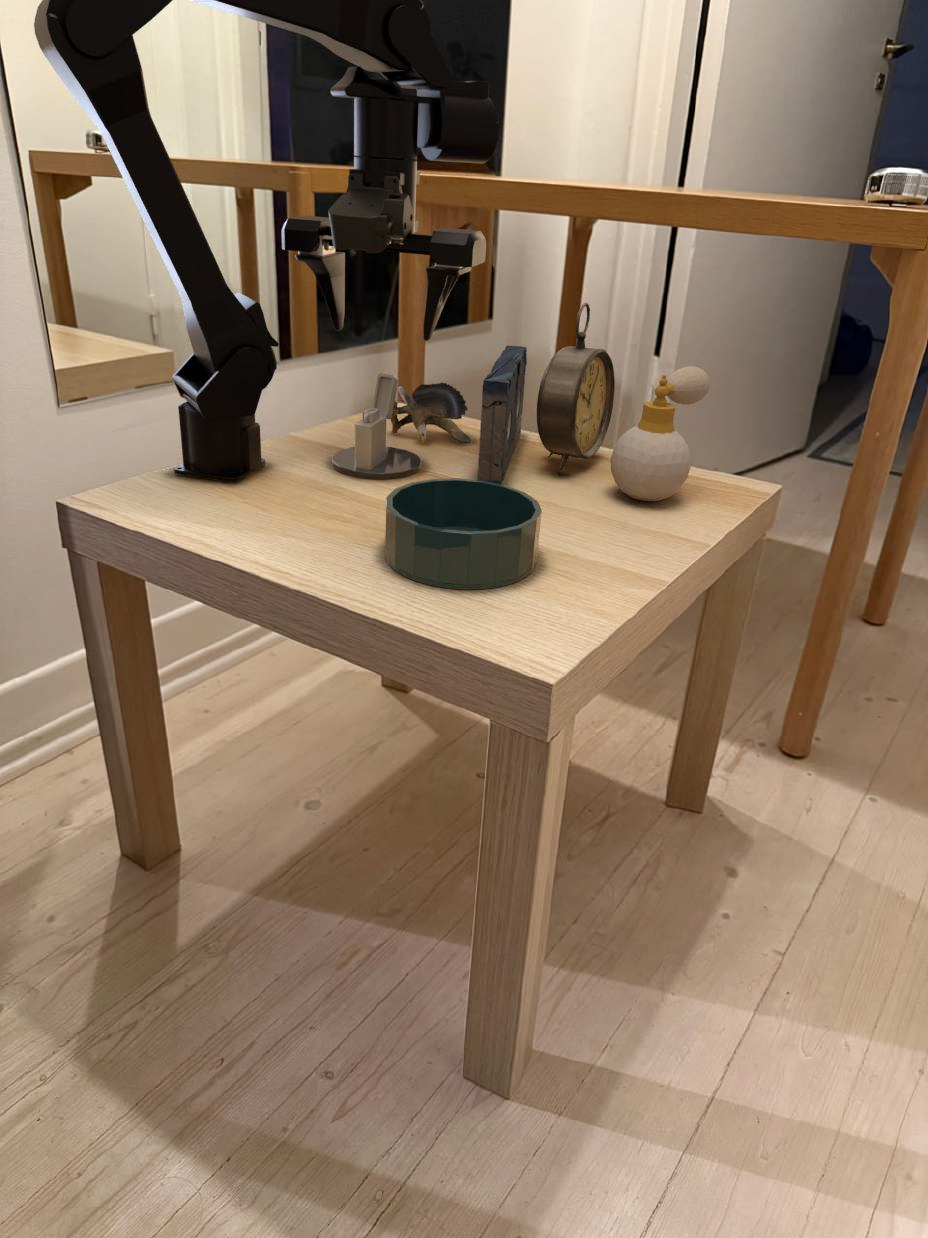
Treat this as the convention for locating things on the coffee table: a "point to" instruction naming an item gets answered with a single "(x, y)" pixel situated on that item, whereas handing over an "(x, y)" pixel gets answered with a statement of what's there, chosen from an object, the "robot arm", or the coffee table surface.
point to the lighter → (375, 424)
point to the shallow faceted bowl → (461, 533)
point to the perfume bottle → (658, 441)
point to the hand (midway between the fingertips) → (382, 334)
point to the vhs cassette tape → (501, 413)
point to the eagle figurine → (431, 410)
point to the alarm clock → (576, 399)
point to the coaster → (391, 467)
